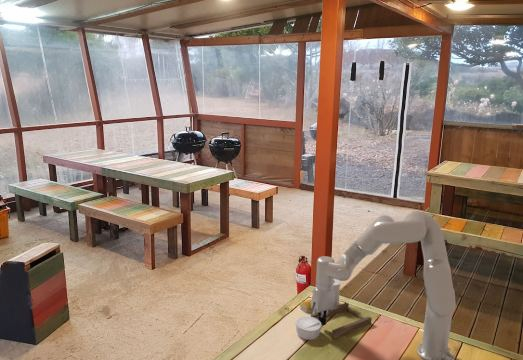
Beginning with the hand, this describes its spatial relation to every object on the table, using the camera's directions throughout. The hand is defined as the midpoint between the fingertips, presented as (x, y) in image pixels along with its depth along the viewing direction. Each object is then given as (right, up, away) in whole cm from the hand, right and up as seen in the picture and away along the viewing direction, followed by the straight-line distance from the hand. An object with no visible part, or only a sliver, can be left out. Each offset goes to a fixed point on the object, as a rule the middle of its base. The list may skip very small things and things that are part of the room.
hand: (322, 323), depth 186 cm
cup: (+7, +2, +22) cm, 24 cm away
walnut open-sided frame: (+9, -1, +6) cm, 11 cm away
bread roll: (-4, +1, +18) cm, 18 cm away
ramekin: (-7, -4, -3) cm, 8 cm away
